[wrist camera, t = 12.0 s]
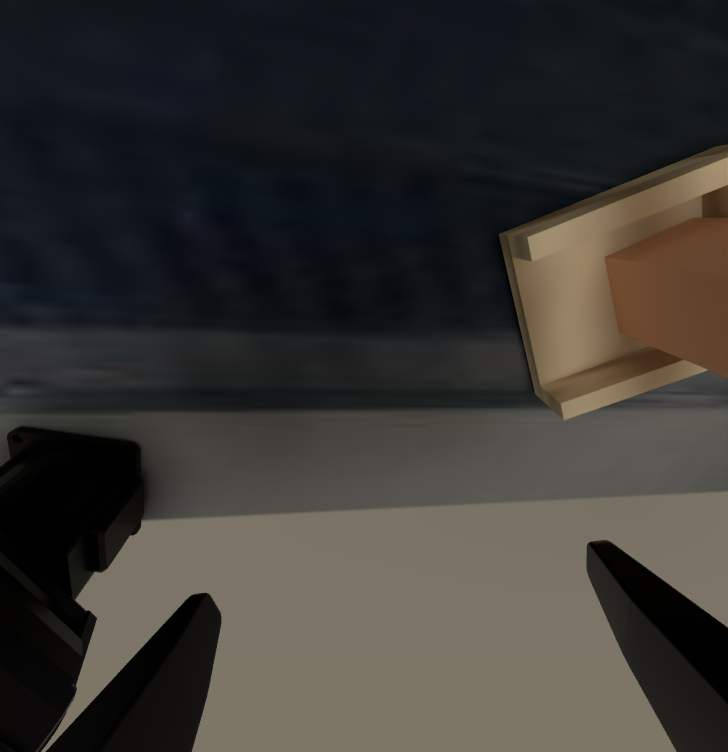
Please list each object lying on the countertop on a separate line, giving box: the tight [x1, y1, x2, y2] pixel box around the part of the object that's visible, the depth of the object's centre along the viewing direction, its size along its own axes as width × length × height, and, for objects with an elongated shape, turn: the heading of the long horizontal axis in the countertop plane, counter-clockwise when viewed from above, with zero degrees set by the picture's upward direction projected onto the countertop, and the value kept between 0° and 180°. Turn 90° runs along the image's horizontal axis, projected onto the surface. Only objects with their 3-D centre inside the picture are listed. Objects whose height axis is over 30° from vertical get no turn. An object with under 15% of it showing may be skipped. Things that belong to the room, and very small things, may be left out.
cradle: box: [499, 144, 728, 420], centre depth 17 cm, size 10×9×4 cm
